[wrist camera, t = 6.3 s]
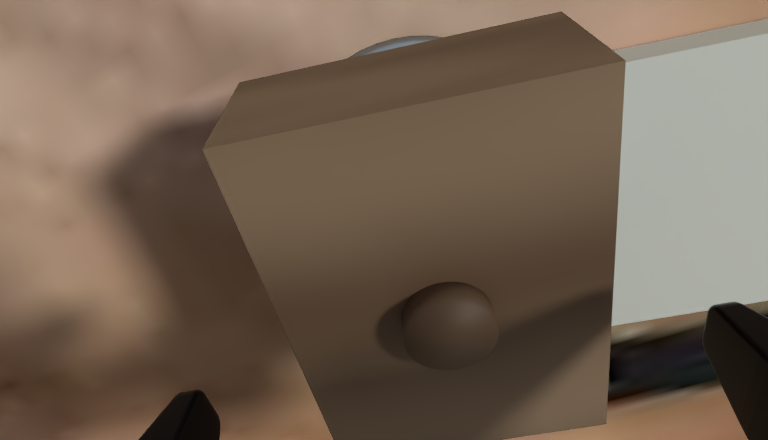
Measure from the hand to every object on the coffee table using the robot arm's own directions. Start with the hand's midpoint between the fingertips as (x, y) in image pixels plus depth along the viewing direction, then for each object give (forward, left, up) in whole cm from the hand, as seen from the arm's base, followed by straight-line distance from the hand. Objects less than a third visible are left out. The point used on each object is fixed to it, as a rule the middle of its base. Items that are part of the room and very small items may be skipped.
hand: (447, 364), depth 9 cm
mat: (-3, -8, -8) cm, 12 cm away
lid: (0, 0, -4) cm, 4 cm away
